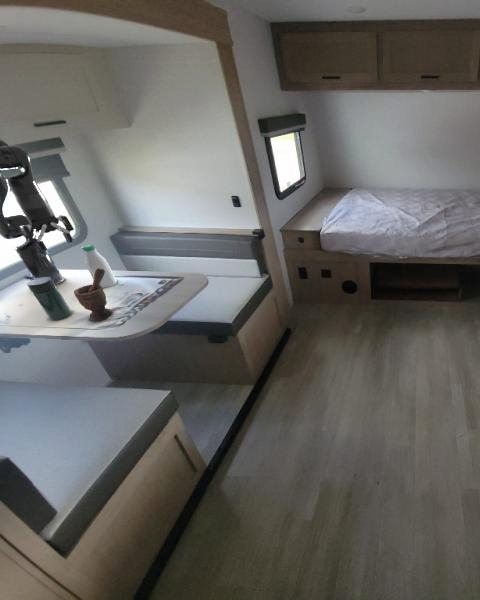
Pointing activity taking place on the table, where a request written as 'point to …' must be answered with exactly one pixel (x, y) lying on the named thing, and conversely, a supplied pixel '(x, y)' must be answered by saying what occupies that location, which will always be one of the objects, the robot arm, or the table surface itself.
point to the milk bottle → (98, 265)
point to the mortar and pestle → (94, 297)
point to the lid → (41, 284)
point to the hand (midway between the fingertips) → (57, 246)
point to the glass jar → (53, 304)
